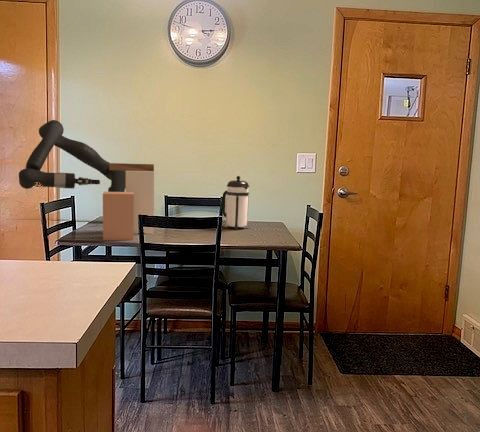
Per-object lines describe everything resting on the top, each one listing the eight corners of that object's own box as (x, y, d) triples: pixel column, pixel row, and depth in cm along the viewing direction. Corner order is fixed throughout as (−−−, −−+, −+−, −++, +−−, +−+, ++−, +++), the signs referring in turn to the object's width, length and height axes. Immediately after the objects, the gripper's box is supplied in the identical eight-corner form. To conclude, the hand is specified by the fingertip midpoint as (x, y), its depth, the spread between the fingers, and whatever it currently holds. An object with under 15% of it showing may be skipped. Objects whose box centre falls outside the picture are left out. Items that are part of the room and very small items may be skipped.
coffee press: (250, 226, 264) (252, 175, 260) (248, 231, 248) (250, 177, 244) (221, 224, 266) (223, 174, 261) (217, 229, 250) (219, 175, 246)
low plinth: (104, 236, 220) (104, 191, 217) (133, 235, 223) (133, 192, 220) (103, 240, 210) (102, 193, 207) (133, 239, 213) (133, 194, 210)
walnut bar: (109, 169, 227) (109, 163, 226) (153, 171, 232) (153, 164, 231) (109, 170, 224) (109, 163, 223) (153, 171, 229) (153, 164, 228)
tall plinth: (126, 230, 237) (126, 170, 232) (152, 230, 240) (153, 170, 235) (125, 233, 227) (125, 171, 222) (153, 233, 230) (154, 171, 225)
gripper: (65, 172, 211) (100, 174, 217) (64, 173, 224) (97, 175, 230) (64, 188, 211) (100, 189, 217) (63, 188, 224) (97, 189, 230)
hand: (98, 182), depth 224 cm, fingers open, 8 cm apart
